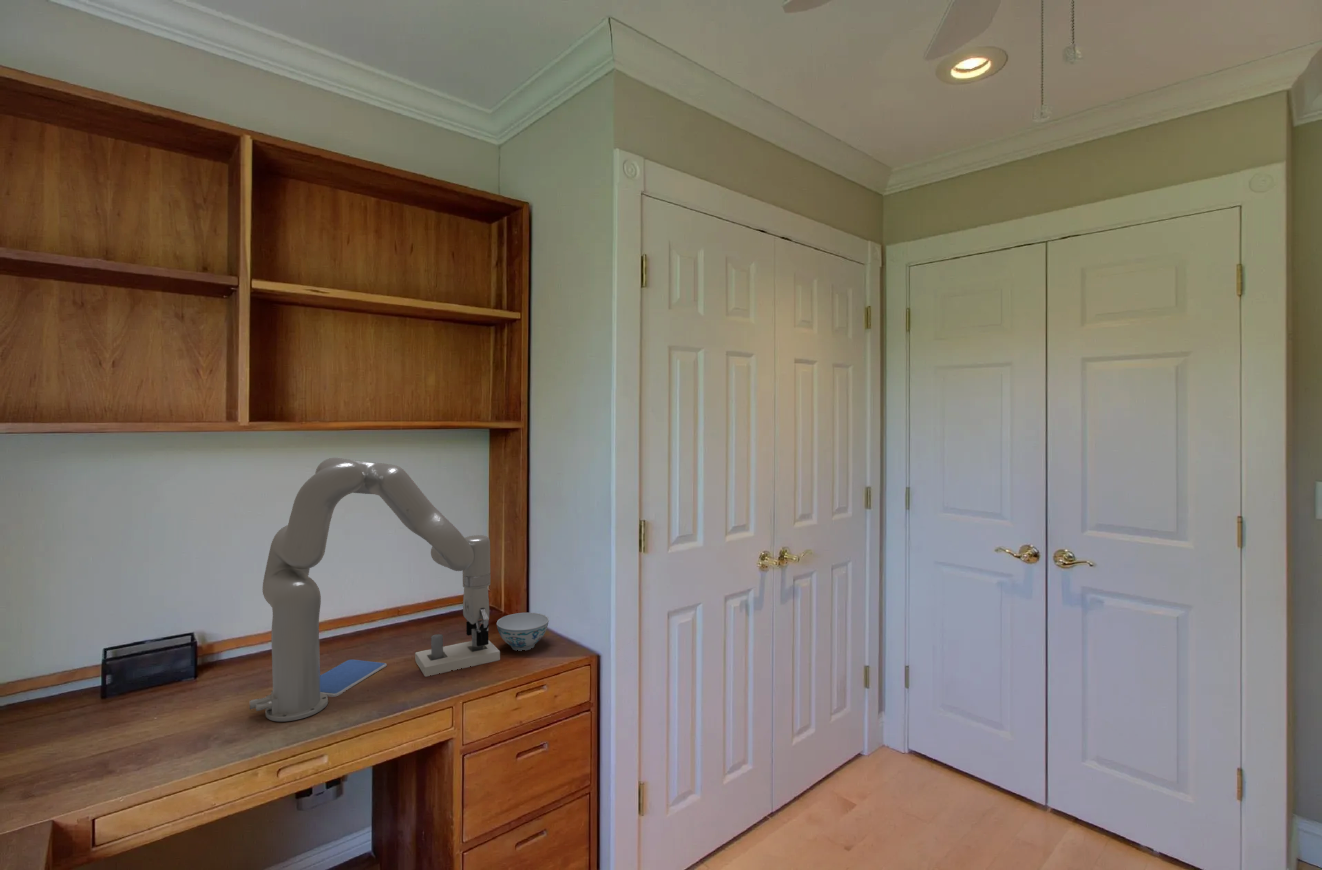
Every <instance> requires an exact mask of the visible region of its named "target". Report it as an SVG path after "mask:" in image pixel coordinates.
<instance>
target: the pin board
mask: <svg viewBox="0 0 1322 870" xmlns="http://www.w3.org/2000/svg"><path fill="white" fill-rule="evenodd" d="M430 639H431V640H430V645H431V648H430V649H425V650H421V651H416V652H415V653H414V654H415V655H414V658H415V659H414V661H415V663H416V664H417V665H418V667H419V669H420V671H421V672H422V674H423V676H424V677H425V678H426V677H431V676H435V675H439V673H440V674H443V673H448V672H449V673H450V672H452V671H451V670H453V671H457V669H458V670H461V668H462V669H466V668H471V667H475V666H480V665H483V664H488V663H489V664H490V663H493V662H497V661H500V660H501V651H500V649H498V648H497V647H496V645H494V643H492V642H491V641H490V640H489V643H488V645H483V650H479V651H474V652H472V640H470V641H464V642H459V643H455V644H450V645H445V646H444V635H443V634H441V633H440V634H438V633H437V634H434V635H431V637H430ZM470 666H471V667H470ZM430 675H431V676H430Z"/></svg>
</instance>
